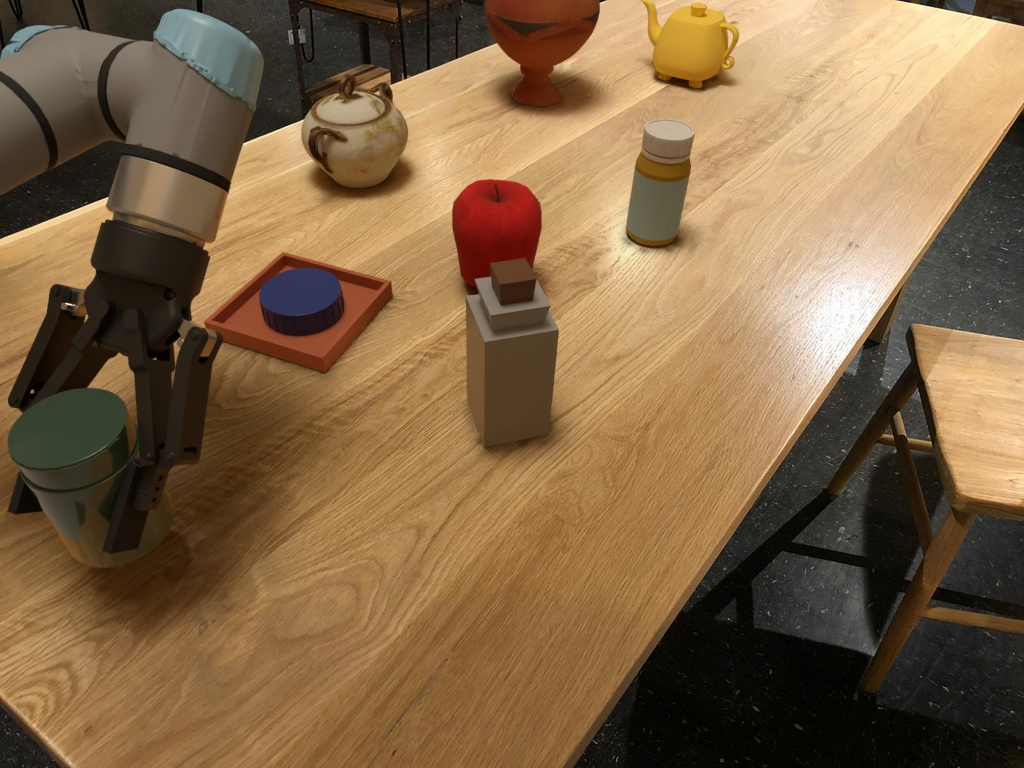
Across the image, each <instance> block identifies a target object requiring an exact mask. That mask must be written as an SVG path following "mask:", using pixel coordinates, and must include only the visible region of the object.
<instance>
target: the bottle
mask: <svg viewBox="0 0 1024 768" xmlns="http://www.w3.org/2000/svg"><path fill="white" fill-rule="evenodd" d="M695 133H696V132H695V129H694V127H693V126H692V125H690V124H689V123H688V122H685V121H682V120H679V119H674V118H655V119H652V120H650V121H648V122H647V123H646V124H645V125H644V128H643V133H642V140H641V143H642V144H641V147H640V148H641V150H640V153H638V156H637V158H636V160H635V165H634V169H633V170H634V171H633V178H632V184H631V190H630V197H629V204H628V208H627V209H628V210H627V217H626V221H625V223H626V225H625V230H626V233H627V234H628V236H629V237H630V238H631V240H633V242H635V243H637V244H639V245H643V246H646V247H652V248H653V247H654V248H655V247H657V248H658V247H664V246H666V245H669V244H670V243H672V242H673V241H675V239H676V238H677V237H678V233H679V229H680V224H681V220H682V215H683V211H684V205H685V201H686V195H687V192H688V191H687V190H688V186H689V181H690V177H691V170H692V163H691V158H690V157H691V153H692V149H693V144H694V139H695Z"/></svg>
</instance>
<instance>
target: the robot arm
mask: <svg viewBox="0 0 1024 768" xmlns="http://www.w3.org/2000/svg"><path fill="white" fill-rule="evenodd" d="M152 34H153V36H152V37H153V41H149V40H136V39H130V38H125V37H120V36H116V35H111V34H105V33H100V32H95V31H90V30H87V29H83V28H80V27H77V26H72V27H71V26H68V25H64V24H62V25H45V24H44V25H43V24H41V25H40V24H38V25H36V24H35V25H31V26H26V27H24V28H22V29H20V30H18V31H16V32H15V33H14V34H13V36H12V37H11V38H10V40H9V41H8V43H7V45H6V46H5V47H4V48H3V49H2V51H1V53H0V196H3V195H4V194H6V193H8V192H10V191H12V190H13V189H15V188H17V187H19V186H21V185H22V184H24V183H26V182H28V181H30V180H31V179H34V178H35V177H37V176H39V175H42V174H45V173H46V172H49V171H51V170H53V169H55V168H57V167H58V166H61V165H62V164H65V163H66V162H68V161H70V160H71V159H73V158H76V157H77V156H80V155H81V154H83V153H85V152H87V151H89V150H90V149H92V148H94V147H96V146H98V145H100V144H102V143H105V142H108V141H109V142H110V141H113V142H118V143H123V147H122V150H121V154H120V159H119V163H118V166H117V168H116V172H115V175H114V179H113V182H112V185H111V188H110V190H109V195H108V198H107V200H106V203H105V207H106V209H107V211H108V212H110V213H112V219H105V220H104V222H100V226H99V229H98V232H97V236H96V239H95V242H94V246H93V250H92V252H91V257H90V261H89V262H90V265H91V267H92V268H93V269H95V274H94V277H93V279H92V281H91V282H90V283H89V284H88V285H87V286H86V288H77V287H72V286H68V285H64V284H61V283H54V284H53V285H51V287H50V288H49V292H48V293H49V294H48V301H47V308H46V314H45V315H44V317H43V321H42V322H41V325H40V327H39V329H38V331H37V333H36V336H35V338H34V340H33V342H32V343H31V346H30V348H29V351H28V352H27V355H26V358H25V360H24V361H23V364H22V366H21V368H20V370H19V373H18V375H17V377H16V379H15V381H14V384H13V385H12V388H11V390H10V392H9V395H8V396H7V403H8V406H9V407H10V408H12V409H18V411H19V412H21V414H23V413H24V412H25V411H26V410H27V409H29V408H30V407H31V406H33V405H34V404H36V403H38V402H39V401H41V400H43V399H45V398H47V397H49V396H52V395H54V394H57V393H60V392H64V391H67V390H72V389H79V388H89V386H90V385H91V383H92V382H93V381H94V380H95V378H96V377H97V375H98V374H99V373H100V371H101V370H102V369H103V367H104V366H105V365H106V364H107V362H108V361H109V360H110V359H113V358H115V357H116V356H118V355H119V354H120V355H122V356H124V357H127V364H128V368H129V370H130V371H131V372H132V373H133V379H134V393H135V405H136V406H135V409H136V421H137V422H136V424H137V425H138V439H139V453H140V458H139V459H132V461H133V462H128V463H127V467H126V470H125V474H124V477H123V480H122V484H121V487H120V491H119V494H118V498H117V501H116V504H115V508H114V511H113V515H112V518H111V521H110V525H109V528H108V532H107V535H106V539H105V542H104V545H103V549H102V551H104V552H107V553H109V554H113V553H118V552H123V551H128V550H133V549H138V547H139V544H140V540H141V537H142V533H143V530H144V527H145V523H146V520H147V516H148V513H149V510H155V509H156V508H157V507H158V505H159V504H160V501H161V498H162V494H163V490H164V487H166V483H167V480H168V477H169V474H170V471H171V470H172V469H173V468H174V467H176V466H187V465H189V466H190V465H196V464H197V463H198V462H199V461H200V459H201V456H202V455H201V454H202V445H203V440H204V432H205V426H206V425H205V423H206V415H207V409H208V401H209V395H210V387H211V380H212V379H211V378H212V371H213V364H214V362H215V359H216V357H217V355H218V353H219V351H220V349H221V346H222V344H223V343H224V341H223V335H222V333H220V332H219V331H215V330H211V329H206V327H205V326H202V325H200V324H198V323H196V322H195V321H193V317H192V302H193V301H194V299H195V298H196V297H197V296H199V295H200V293H201V291H202V288H203V284H204V281H205V278H206V274H207V271H208V267H209V263H210V260H211V256H210V255H209V253H210V252H209V251H208V250H206V249H204V247H205V245H206V244H212V243H214V242H216V238H217V235H218V231H219V229H220V224H221V221H222V217H223V213H224V211H225V207H226V204H227V200H228V196H229V193H230V191H231V190H230V189H231V187H232V186H231V185H232V180H233V176H234V173H235V170H236V167H237V164H238V161H239V158H240V154H241V151H242V149H243V146H244V143H245V140H246V137H247V135H248V132H249V128H250V126H251V122H252V120H253V117H254V113H256V110H257V100H258V96H259V92H260V91H259V90H260V86H261V81H262V76H263V72H264V67H265V61H264V56H263V54H262V52H261V50H260V49H259V47H258V46H257V44H255V42H253V41H252V40H251V39H250V38H249V37H248V36H247V35H245V33H243V32H241V31H240V30H238V29H237V28H235V27H233V26H231V25H230V24H228V23H226V22H224V21H222V20H220V19H217V18H215V17H213V16H211V15H208V14H206V13H202V12H199V11H195V10H191V9H185V8H175V9H172V10H169V11H167V12H165V13H164V14H163V15H162V16H161V19H160V21H159V24H158V26H157V27H156V30H154V31H153V33H152ZM86 317H87V318H86ZM175 343H176V345H177V347H178V348H179V351H178V354H177V357H175V345H174V344H175ZM173 372H174V375H173V378H172V374H173ZM32 391H33V392H32ZM7 512H8V513H10V514H13V515H25V514H33V513H44V511H43V510H42V508H41V507H40V505H39V504H38V502H37V501H36V499H35V497H34V496H33V494H32V493H31V491H30V490H29V488H28V486H27V485H26V483H25V482H24V480H23V478H22V477H21V474H20V469H19V470H18V473H17V476H16V480H15V483H14V487H13V490H12V493H11V497H10V501H9V505H8V507H7Z"/></svg>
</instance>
